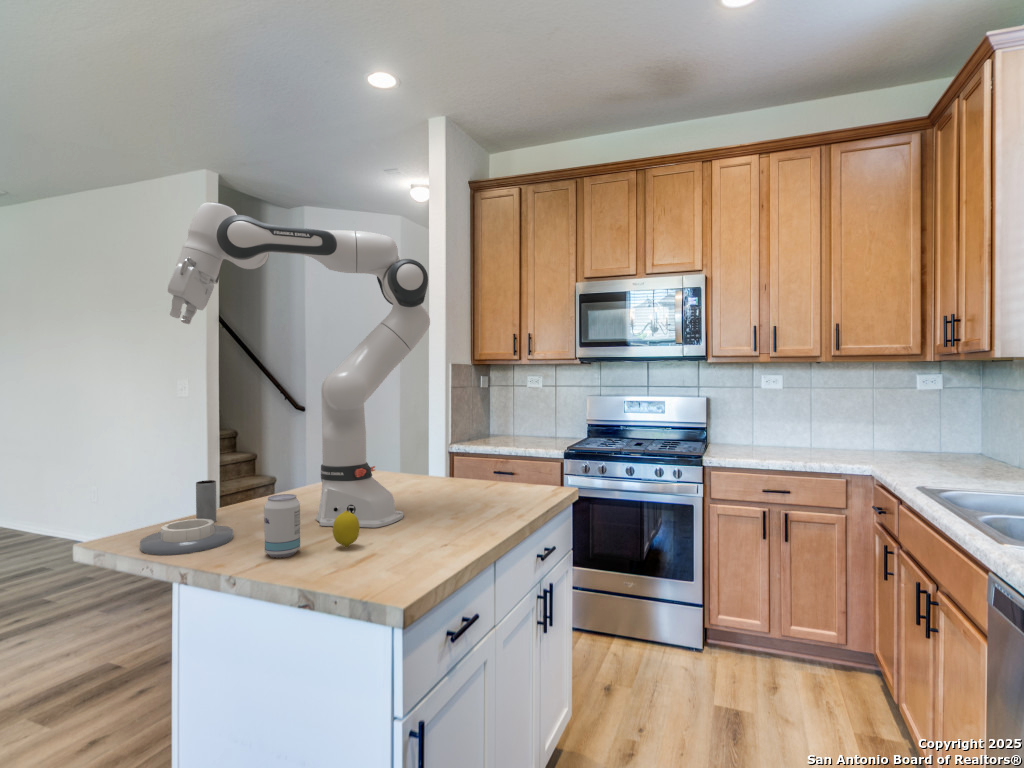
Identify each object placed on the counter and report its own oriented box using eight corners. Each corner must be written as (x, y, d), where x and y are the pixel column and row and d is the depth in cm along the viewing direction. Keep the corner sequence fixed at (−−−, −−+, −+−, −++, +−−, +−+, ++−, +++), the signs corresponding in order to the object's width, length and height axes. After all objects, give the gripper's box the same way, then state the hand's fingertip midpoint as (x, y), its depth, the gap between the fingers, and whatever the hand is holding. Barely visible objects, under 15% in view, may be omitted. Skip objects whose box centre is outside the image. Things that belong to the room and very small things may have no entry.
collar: (250, 535, 131) (250, 518, 131) (183, 558, 114) (183, 539, 114) (192, 528, 137) (192, 512, 137) (119, 550, 120) (119, 531, 120)
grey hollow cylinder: (201, 519, 146) (200, 480, 146) (219, 519, 146) (219, 480, 146) (193, 524, 141) (192, 483, 141) (211, 524, 142) (211, 483, 141)
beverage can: (264, 551, 119) (264, 495, 119) (299, 547, 122) (299, 492, 122) (264, 561, 113) (264, 501, 113) (301, 556, 116) (300, 498, 115)
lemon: (352, 552, 119) (351, 514, 118) (328, 550, 120) (327, 513, 120) (364, 544, 124) (363, 508, 124) (341, 543, 125) (340, 507, 125)
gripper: (202, 259, 127) (182, 317, 125) (220, 280, 147) (203, 330, 145) (172, 250, 125) (151, 308, 124) (194, 272, 145) (177, 322, 143)
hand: (179, 320), depth 134 cm, fingers open, 8 cm apart
